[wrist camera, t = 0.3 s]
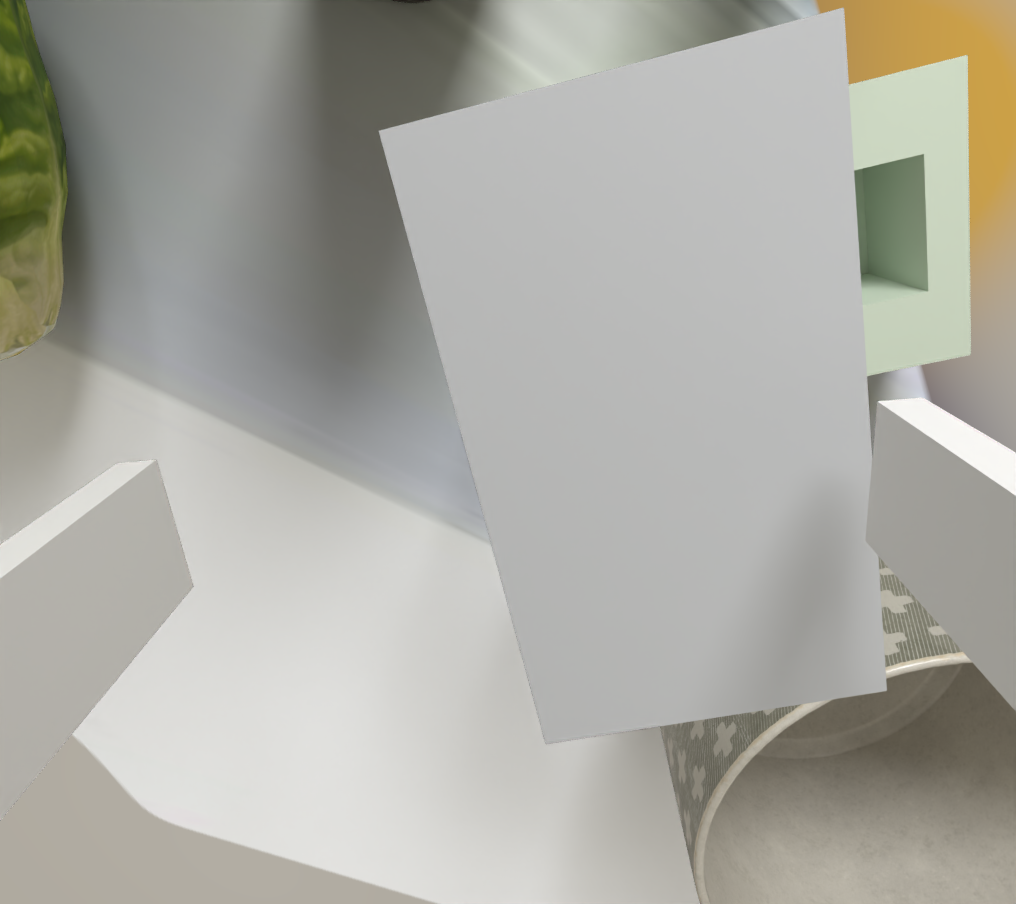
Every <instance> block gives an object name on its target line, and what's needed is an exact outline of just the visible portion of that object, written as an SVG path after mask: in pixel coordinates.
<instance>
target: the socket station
mask: <svg viewBox="0 0 1016 904" xmlns="http://www.w3.org/2000/svg"><path fill="white" fill-rule="evenodd" d="M845 35H846V34H845V19H844V8H841V9H837V10H833V11H829V12H826V13H822V14H818V15H814V16H810V17H807V18H803V19H799V20H795V21H792V22H788V23H784V24H780V25H776V26H773V27H769V28H765V29H761V30H758V31H754V32H750V33H746V34H742V35H739V36H735V37H731V38H727V39H724V40H720V41H716V42H712V43H708V44H705V45H701V46H697V47H693V48H690V49H686V50H682V51H678V52H674V53H671V54H667V55H663V56H659V57H656V58H652V59H648V60H644V61H640V62H637V63H633V64H629V65H625V66H622V67H618V68H614V69H610V70H606V71H603V72H599V73H595V74H591V75H588V76H584V77H580V78H576V79H572V80H569V81H565V82H561V83H557V84H554V85H550V86H546V87H542V88H538V89H535V90H531V91H527V92H523V93H520V94H516V95H512V96H508V97H504V98H501V99H497V100H493V101H489V102H486V103H482V104H478V105H474V106H470V107H467V108H463V109H459V110H455V111H452V112H448V113H444V114H440V115H436V116H433V117H429V118H425V119H421V120H418V121H414V122H410V123H406V124H402V125H399V126H395V127H391V128H387V129H384V130H380V131H379V134H380V138H381V142H382V145H383V149H384V153H385V156H386V160H387V164H388V167H389V171H390V175H391V178H392V182H393V186H394V189H395V193H396V197H397V200H398V204H399V208H400V211H401V215H402V219H403V222H404V226H405V230H406V233H407V237H408V241H409V244H410V248H411V252H412V255H413V259H414V263H415V266H416V270H417V274H418V277H419V281H420V285H421V288H422V292H423V296H424V299H425V303H426V307H427V310H428V314H429V318H430V321H431V325H432V329H433V332H434V336H435V340H436V343H437V347H438V351H439V354H440V358H441V362H442V365H443V369H444V373H445V376H446V380H447V384H448V387H449V391H450V395H451V398H452V402H453V406H454V409H455V413H456V417H457V420H458V424H459V428H460V431H461V435H462V439H463V442H464V446H465V450H466V453H467V457H468V461H469V464H470V468H471V472H472V475H473V479H474V483H475V486H476V490H477V494H478V497H479V501H480V505H481V508H482V512H483V516H484V519H485V523H486V527H487V530H488V534H489V538H490V541H491V545H492V549H493V552H494V556H495V560H496V563H497V567H498V571H499V574H500V578H501V582H502V585H503V589H504V593H505V596H506V600H507V604H508V607H509V611H510V615H511V618H512V622H513V626H514V629H515V633H516V637H517V640H518V644H519V648H520V651H521V655H522V659H523V662H524V666H525V670H526V673H527V677H528V681H529V684H530V688H531V692H532V695H533V699H534V703H535V706H536V710H537V714H538V717H539V721H540V725H541V728H542V732H543V736H544V739H545V743H546V744H551V743H557V742H563V741H570V740H576V739H583V738H589V737H595V736H602V735H608V734H615V733H621V732H627V731H634V730H640V729H646V728H653V727H659V726H666V725H672V724H678V723H685V722H691V721H698V720H704V719H710V718H717V717H723V716H730V715H736V714H742V713H749V712H755V711H762V710H768V709H774V708H781V707H787V706H794V705H800V704H806V703H813V702H819V701H826V700H832V699H838V698H845V697H851V696H858V695H864V694H870V693H877V692H883V691H887V685H886V669H885V653H884V638H883V622H882V606H881V590H880V574H879V558H878V555H877V554H876V553H875V551H874V550H873V549H872V548H871V547H870V546H869V545H868V544H867V542H866V541H865V537H866V526H867V514H868V503H869V491H870V480H871V468H872V447H871V431H870V415H869V399H868V384H867V376H870V375H875V374H880V373H885V372H889V371H894V370H899V369H904V368H909V367H914V366H918V365H923V364H928V363H932V362H938V361H943V360H948V359H952V358H957V357H962V356H967V355H971V333H970V332H971V330H970V329H971V325H970V238H969V237H970V235H969V150H968V149H969V146H968V64H967V63H968V58H967V55H966V56H962V57H958V58H954V59H950V60H946V61H942V62H938V63H934V64H930V65H926V66H922V67H918V68H914V69H910V70H906V71H902V72H898V73H894V74H890V75H887V76H883V77H879V78H875V79H870V80H866V81H862V82H859V83H855V84H851V85H849V82H848V67H847V50H846V36H845Z"/></svg>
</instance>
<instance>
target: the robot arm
mask: <svg viewBox="0 0 1016 904" xmlns="http://www.w3.org/2000/svg"><path fill="white" fill-rule="evenodd" d="M865 541H866V542H867V544H868V545H869V546H870V547H871V548H872V549H873V550H874V551H875V553H876V554H877V555H878V556H879V557H880V558H881V559H882V561H883V562H884V563H885V564H886V565H887V566H888V567H889V568H890V570H891V571H892V572H893V573H894V574H895V575H896V576H897V577H898V579H899V580H900V581H901V582H902V583H903V584H904V585H905V587H906V588H907V589H908V590H909V591H910V592H911V593H912V594H913V596H914V597H915V598H916V599H917V600H918V601H919V602H920V604H921V605H922V606H923V607H924V608H925V609H926V610H927V611H928V613H929V614H930V615H931V616H932V617H933V618H934V619H935V621H936V622H937V623H938V624H939V625H940V626H941V627H942V628H943V630H944V631H945V632H946V633H947V634H948V635H949V636H950V638H951V639H952V640H953V641H954V642H955V643H956V644H957V645H958V647H959V648H960V649H961V650H962V651H963V652H964V653H965V655H966V656H967V657H968V658H969V659H970V660H971V661H972V662H973V664H974V665H975V666H976V667H977V668H978V669H979V670H980V672H981V673H982V674H983V675H984V676H985V677H986V678H987V679H988V681H989V682H990V683H991V684H992V685H993V686H994V687H995V688H996V690H997V691H998V692H999V693H1000V694H1001V695H1002V696H1003V698H1004V699H1005V700H1006V701H1007V702H1008V703H1009V704H1010V705H1011V707H1012V708H1013V709H1014V710H1015V711H1016V453H1015V452H1014V451H1012V450H1010V449H1008V448H1007V447H1005V446H1003V445H1002V444H1000V443H998V442H996V441H995V440H993V439H992V438H990V437H988V436H987V435H985V434H983V433H982V432H980V431H978V430H976V429H975V428H973V427H971V426H970V425H968V424H966V423H965V422H963V421H961V420H960V419H958V418H956V417H954V416H953V415H951V414H949V413H948V412H946V411H944V410H943V409H941V408H939V407H938V406H936V405H934V404H933V403H931V402H929V401H927V400H926V399H924V398H912V399H900V400H887V401H877V410H876V422H875V434H874V445H873V457H872V468H871V480H870V491H869V503H868V514H867V526H866V537H865ZM193 587H194V586H193V583H192V579H191V576H190V572H189V569H188V566H187V562H186V559H185V555H184V552H183V549H182V545H181V542H180V538H179V535H178V532H177V528H176V525H175V521H174V518H173V514H172V511H171V508H170V504H169V501H168V497H167V494H166V491H165V487H164V484H163V480H162V477H161V474H160V470H159V467H158V463H157V460H146V461H133V462H121V463H116V464H115V465H113V466H112V467H111V468H109V469H108V470H106V471H105V472H103V473H102V474H101V475H99V476H98V477H96V478H95V479H93V480H92V481H91V482H89V483H88V484H86V485H85V486H83V487H82V488H81V489H79V490H78V491H76V492H75V493H73V494H72V495H71V496H69V497H68V498H66V499H65V500H63V501H62V502H60V503H59V504H58V505H56V506H55V507H53V508H52V509H50V510H49V511H48V512H46V513H45V514H43V515H42V516H40V517H39V518H38V519H36V520H35V521H33V522H32V523H30V524H29V525H28V526H26V527H25V528H23V529H22V530H20V531H19V532H18V533H16V534H15V535H13V536H12V537H10V538H9V539H7V540H6V541H5V542H3V543H2V544H0V821H1V819H2V818H3V817H4V816H5V815H6V813H7V812H8V811H9V810H10V809H11V807H12V806H13V805H14V804H15V802H16V801H17V800H18V799H19V798H20V796H21V795H22V794H23V793H24V791H25V790H26V789H27V788H28V787H29V785H30V784H31V783H32V782H33V781H34V779H35V778H36V777H37V776H38V774H39V773H40V772H41V771H42V770H43V768H44V767H45V766H46V765H47V764H48V762H49V761H50V760H51V759H52V758H53V756H54V755H55V754H56V753H57V752H58V750H59V749H60V748H61V747H62V745H63V744H64V743H65V742H66V740H67V739H68V738H69V737H70V736H71V735H72V733H73V732H74V731H75V730H76V728H77V727H78V726H79V725H80V724H81V722H82V721H83V720H84V719H85V718H86V716H87V715H88V714H89V713H90V711H91V710H92V709H93V708H94V707H95V705H96V704H97V703H98V702H99V701H100V699H101V698H102V697H103V696H104V695H105V693H106V692H107V691H108V690H109V688H110V687H111V686H112V685H113V684H114V682H115V681H116V680H117V679H118V678H119V676H120V675H121V674H122V673H123V671H124V670H125V669H126V668H127V667H128V665H129V664H130V663H131V662H132V661H133V659H134V658H135V657H136V656H137V654H138V653H139V652H140V651H141V650H142V648H143V647H144V646H145V645H146V644H147V642H148V641H149V640H150V639H151V638H152V636H153V635H154V634H155V633H156V631H157V630H158V629H159V628H160V627H161V625H162V624H163V623H164V622H165V621H166V619H167V618H168V617H169V616H170V614H171V613H172V612H173V611H174V610H175V608H176V607H177V606H178V605H179V604H180V602H181V601H182V600H183V599H184V597H185V596H186V595H187V594H188V593H189V591H190V590H191V589H192V588H193Z"/></svg>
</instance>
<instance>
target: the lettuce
mask: <svg viewBox="0 0 1016 904" xmlns="http://www.w3.org/2000/svg"><path fill="white" fill-rule="evenodd" d="M67 194H68V187H67V166H66V145H65V141H64V137H63V132H62V128H61V123H60V119H59V114H58V110H57V105H56V101H55V97H54V94H53V91H52V88H51V85H50V83H49V80H48V77H47V74H46V71H45V68H44V65H43V62H42V59H41V56H40V53H39V50H38V47H37V43H36V40H35V36H34V32H33V29H32V25H31V21H30V17H29V14H28V10H27V6H26V3H25V0H0V360H3V359H6V358H9V357H12V356H15V355H17V354H19V353H21V352H22V351H24V350H25V349H27V348H28V347H29V346H31V345H32V344H34V343H35V342H37V341H38V340H40V339H41V338H42V337H44V336H45V335H47V334H48V333H49V332H51V331H52V330H53V329H54V327H55V325H56V321H57V317H58V313H59V310H60V306H61V299H62V291H63V284H64V277H63V256H62V229H63V222H64V215H65V208H66V201H67Z"/></svg>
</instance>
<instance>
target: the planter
mask: <svg viewBox="0 0 1016 904" xmlns="http://www.w3.org/2000/svg"><path fill="white" fill-rule="evenodd" d="M878 558H879V574H880V590H881V606H882V622H883V638H884V653H885V669H886V685H887V691H883V692H877V693H870V694H864V695H858V696H851V697H845V698H838V699H832V700H826V701H819V702H813V703H806V704H800V705H794V706H787V707H781V708H774V709H768V710H762V711H755V712H749V713H742V714H736V715H730V716H723V717H717V718H710V719H704V720H698V721H691V722H685V723H678V724H672V725H666V726H660V728H661V732H662V737H663V741H664V746H665V751H666V755H667V760H668V764H669V769H670V773H671V778H672V782H673V787H674V791H675V796H676V800H677V805H678V809H679V814H680V818H681V823H682V827H683V832H684V836H685V841H686V846H687V850H688V855H689V859H690V864H691V868H692V873H693V877H694V882H695V886H696V891H697V894H698V897H699V901H700V904H1016V711H1015V710H1014V709H1013V708H1012V707H1011V705H1010V704H1009V703H1008V702H1007V701H1006V700H1005V699H1004V698H1003V696H1002V695H1001V694H1000V693H999V692H998V691H997V690H996V688H995V687H994V686H993V685H992V684H991V683H990V682H989V681H988V679H987V678H986V677H985V676H984V675H983V674H982V673H981V672H980V670H979V669H978V668H977V667H976V666H975V665H974V664H973V662H972V661H971V660H970V659H969V658H968V657H967V656H966V655H965V653H964V652H963V651H962V650H961V649H960V648H959V647H958V645H957V644H956V643H955V642H954V641H953V640H952V639H951V638H950V636H949V635H948V634H947V633H946V632H945V631H944V630H943V628H942V627H941V626H940V625H939V624H938V623H937V622H936V621H935V619H934V618H933V617H932V616H931V615H930V614H929V613H928V611H927V610H926V609H925V608H924V607H923V606H922V605H921V604H920V602H919V601H918V600H917V599H916V598H915V597H914V596H913V594H912V593H911V592H910V591H909V590H908V589H907V588H906V587H905V585H904V584H903V583H902V582H901V581H900V580H899V579H898V577H897V576H896V575H895V574H894V573H893V572H892V571H891V570H890V568H889V567H888V566H887V565H886V564H885V563H884V562H883V561H882V559H881V558H880V557H879V556H878Z"/></svg>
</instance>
